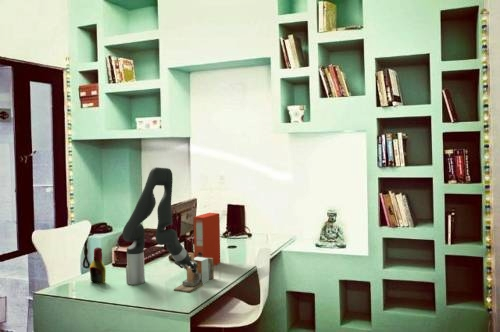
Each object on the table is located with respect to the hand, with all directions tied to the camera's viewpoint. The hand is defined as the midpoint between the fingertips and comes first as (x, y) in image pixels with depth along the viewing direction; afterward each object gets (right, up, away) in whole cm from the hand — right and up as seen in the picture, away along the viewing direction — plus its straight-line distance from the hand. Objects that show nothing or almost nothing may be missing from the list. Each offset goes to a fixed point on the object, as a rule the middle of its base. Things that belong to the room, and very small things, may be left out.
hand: (192, 271), depth 261 cm
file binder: (+5, -6, +41) cm, 41 cm away
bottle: (-55, -9, +10) cm, 56 cm away
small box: (+3, -8, +8) cm, 11 cm away
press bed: (+1, -8, +2) cm, 8 cm away
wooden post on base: (0, -7, 0) cm, 7 cm away
